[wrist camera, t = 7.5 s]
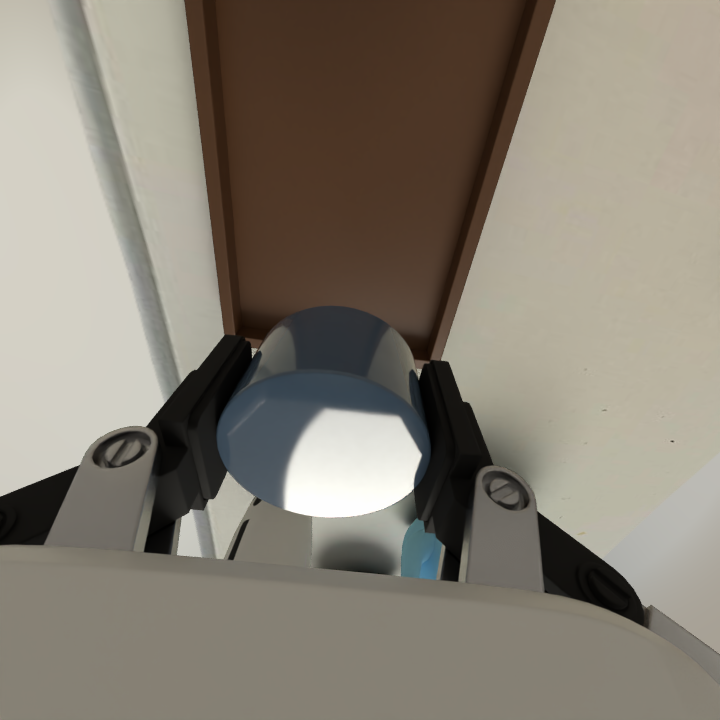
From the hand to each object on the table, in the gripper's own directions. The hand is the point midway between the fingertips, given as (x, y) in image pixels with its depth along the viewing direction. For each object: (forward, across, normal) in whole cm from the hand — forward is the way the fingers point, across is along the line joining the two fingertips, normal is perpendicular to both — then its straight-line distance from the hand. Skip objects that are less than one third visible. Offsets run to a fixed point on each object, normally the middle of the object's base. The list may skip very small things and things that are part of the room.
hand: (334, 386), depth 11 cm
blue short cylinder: (+1, 0, 0) cm, 1 cm away
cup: (+14, +4, +26) cm, 30 cm away
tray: (+13, +1, -5) cm, 14 cm away
